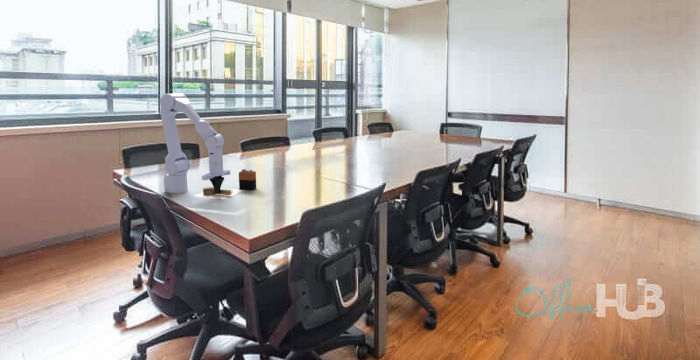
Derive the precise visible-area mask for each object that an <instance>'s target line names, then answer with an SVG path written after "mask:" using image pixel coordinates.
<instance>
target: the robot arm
mask: <svg viewBox="0 0 700 360" xmlns="http://www.w3.org/2000/svg"><path fill="white" fill-rule="evenodd" d="M159 103H160V113H159V114H160V119H161V123H162V128H163V133H164V137H165V142H166V143H165V145H166V148H167V152H168V154H167V155H166V157H164V171H165V172H166V174H165V175H164V177H163V186H164V192H165V193H171V194H184V193H188V191H189V189H188V187H189V186H188V175H187V174H188V171H189V170H190V167H191V165H190V161H189V160H188V158H187V154H185V153H184V152H183V150H182V147H181V141H180V137H179V132H178V125H177V121H176V115H177V114H178V113H179V112H182V113H183V114H184V115H185V116H186V117H187V118H188V119H189V120H190V121H191V122H192V123H193V124H194V126H195V128H194V129H195V130H196V132H197V133H198V134H199V136H201V137H202V138H203V140H204V145H205V147H206V149H207V153H208V171H209V172H208V173H205V174H202V175H201V180H202V181H208V180H209V182H210V183H211V185H212V187H214V192H215V193H216V194H220V188H222V184H223V182H224V181H225V176H230V175H231V170H230V169H224V158H223V157H224V155H223V146H224V145H225V142H226V140H225V137H224V136H223V134H221V133H218V132H217V131H216V130H215V129H214V128H213V127H212V126H211V123H210V121H207V120H203V119H202V118H201V117H200V115H199V114H198V112H197V111H196V110H195V109H194V107H193V106H192V104H191V103H190V99H189V98H188V97H187V96H186V95H185V94H184V93H182V92H181V93H165V94H163V95H162V97H160V99H159Z"/></svg>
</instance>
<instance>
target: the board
mask: <svg viewBox="0 0 700 360" xmlns="http://www.w3.org/2000/svg"><path fill="white" fill-rule="evenodd" d="M220 189H224V190H231V195H222V194H213V195H204V194H203V192H200V193H197V194H195V195H194V197H196V198H206V199H215V200H225V199H227V198H230V197H232V196H234V195H236V194H239V193H241V192H244V191H245V190H240V189H236V188H235V189H234V188H227V187H221V188H220Z"/></svg>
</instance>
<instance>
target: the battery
mask: <svg viewBox="0 0 700 360" xmlns="http://www.w3.org/2000/svg"><path fill="white" fill-rule="evenodd" d="M238 185H239V189H238V190H244V191H254V190H256V189H257V172H256V171H255V170H253V169H249V170H247V169H244V168H243V169H241V171H239V172H238Z"/></svg>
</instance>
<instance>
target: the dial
mask: <svg viewBox="0 0 700 360" xmlns="http://www.w3.org/2000/svg"><path fill="white" fill-rule="evenodd" d="M202 193H203V194H204V195H213V194H216V193H215V192H214V187H213V186H206V187H203V188H202ZM220 194H222V195H231V190H224V189H220Z"/></svg>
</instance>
